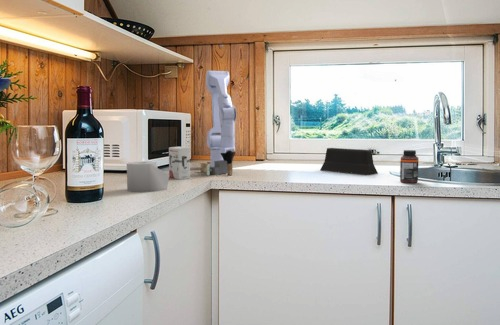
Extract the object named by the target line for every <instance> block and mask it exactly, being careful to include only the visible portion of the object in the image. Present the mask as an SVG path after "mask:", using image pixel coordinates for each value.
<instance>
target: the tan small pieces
mask: <svg viewBox="0 0 500 325" xmlns="http://www.w3.org/2000/svg"><path fill="white" fill-rule="evenodd" d="M208 164H210V167H211V161H207V162H200V165H199V167H200V173H206V174H207V165H208ZM226 176H228V177H230V176H233V163H232V164H227V173H226Z"/></svg>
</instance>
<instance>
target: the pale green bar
mask: <svg viewBox="0 0 500 325" xmlns="http://www.w3.org/2000/svg"><path fill="white" fill-rule="evenodd" d="M210 172H211V169H210V164H208V165H207V173H206V176H210V175H211V174H210Z"/></svg>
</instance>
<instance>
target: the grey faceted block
mask: <svg viewBox="0 0 500 325" xmlns="http://www.w3.org/2000/svg"><path fill="white" fill-rule="evenodd" d="M214 164H215V167H210V169H211V172H210V175H213V176H217V175H223V174H227V161H224V160H220V161H214Z"/></svg>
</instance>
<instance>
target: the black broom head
mask: <svg viewBox="0 0 500 325" xmlns="http://www.w3.org/2000/svg"><path fill="white" fill-rule="evenodd" d="M373 159H374V157H373V151H372V150H371V149H356V148H340V147H339V148H337V147H327V148H326V153H325V157H324V162H323V163H322V165H321V167H320V170H319V171H321V172H331V173H340V174H341V173H342V174H350V175H360V176H371V175H378V174H379V172H378V171H377V168H376V166H375V164H374V160H373Z"/></svg>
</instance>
